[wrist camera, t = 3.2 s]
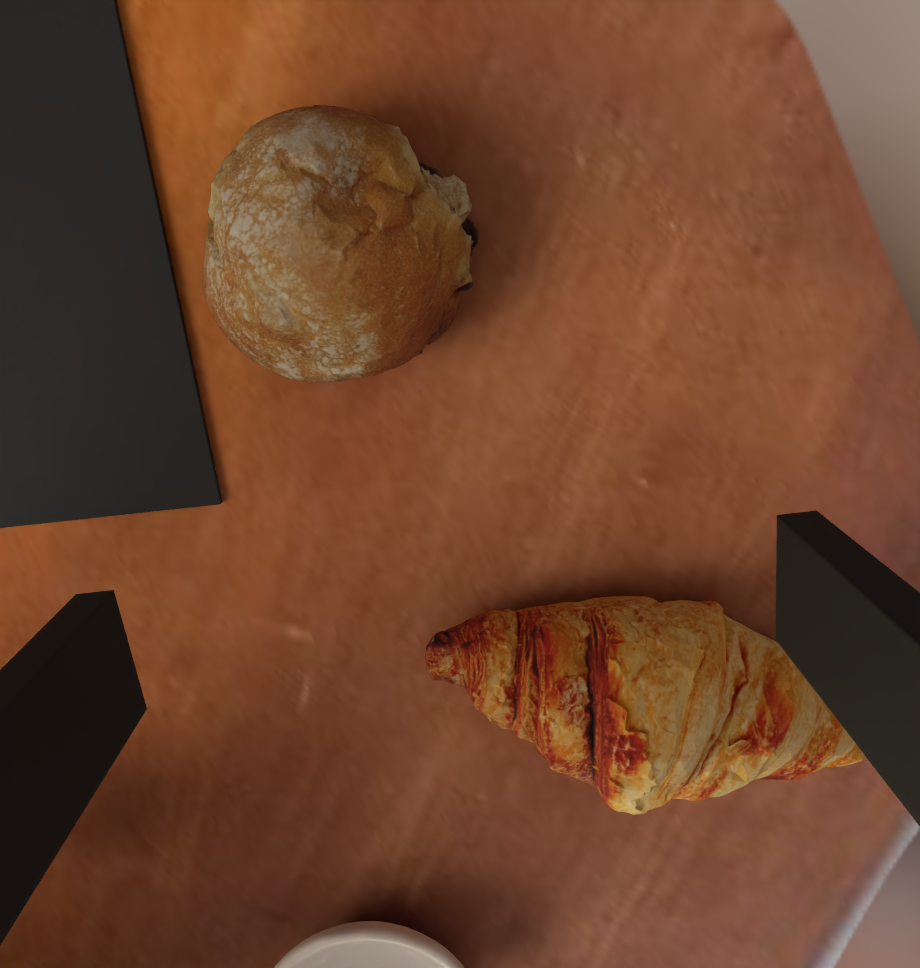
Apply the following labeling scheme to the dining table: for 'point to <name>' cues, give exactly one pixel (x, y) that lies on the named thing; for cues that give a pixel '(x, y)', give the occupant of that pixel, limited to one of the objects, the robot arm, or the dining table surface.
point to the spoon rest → (369, 948)
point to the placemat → (87, 285)
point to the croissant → (644, 696)
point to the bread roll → (334, 246)
